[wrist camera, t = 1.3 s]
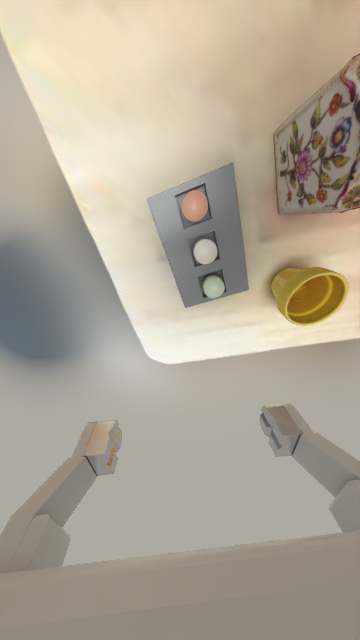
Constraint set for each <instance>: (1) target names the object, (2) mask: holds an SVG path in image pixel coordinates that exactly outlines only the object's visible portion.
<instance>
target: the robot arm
mask: <svg viewBox="0 0 360 640" xmlns="http://www.w3.org/2000/svg"><path fill="white" fill-rule="evenodd" d="M262 412H263V413H262V414H261V415H260V425H261V427H262V430H263V432H264V434H265V435H267V436H268V437H269V444H270V446H271V448H272V450H273V452H274V454H275V456H276V457H277V456H292V457H293V458H294V459H295V460H296V461H297V462H299V464H300V465H301V466H303V467H304V468H305V469H306V470H307V471H308V472H309V473H310V474H311V475H312V476H313V477H314V478H315V479H316V480H317V481H318V482H319V483H320V484H321V485H323V487H325V488H326V489H327V490H328V491H329V492H330V493H331V494H332V495H333V496H334V497H335V499H334V500H333V502H332V503H331V504H330V507H329V510H330V511H331V513H332V515H333V516H334V518H335V520H336V522H337V523H338V525H339V526H340V528H341V530H342V532H343V533H336V534H328V535H320V536H312V537H303V538H294V539H286V540H278V541H269V542H261V543H253V544H244V545H235V546H228V547H219V548H210V549H202V550H194V551H186V552H177V553H168V554H160V555H152V556H143V557H136V558H126V559H118V560H110V561H101V562H93V563H84V564H76V565H68V566H62V564H63V561H64V558H65V555H66V552H67V548H68V546H69V542H70V535H69V534H68V533H67V532H66V531H65V530H64V529H63V528H62V527H63V526H64V524H65V523H66V521H67V520H68V518H69V517H70V516H71V514H72V513H73V511H74V510H75V508H76V507H77V505H78V504H79V503H80V501H81V500H82V498H83V497H84V495H85V494H86V492H87V491H88V489H89V488H90V487H91V485H92V484H93V482H94V481H95V479H96V477H97V476H100V475H107V474H114V471H115V467H116V463H117V459H118V458H117V455H116V453H117V451H118V450H119V449H120V446H121V439H122V432H121V429H120V428H118V425H119V424H118V421H117V420H112V421H99V422H89V423H88V424H87V425H86V426H85V428H84V431H83V433H82V435H81V437H80V440H79V441H78V444H77V446H76V448H75V450H74V453H73V455H72V457H71V458H68V459H67V460H66V461H65V462H64V463H63V464H62V465H61V466H60V467H59V468H58V469H57V470H56V471H55V472H54V473H53V474H52V475H51V476H50V477H49V478H48V479H47V480H46V481H45V482H44V483H43V484H42V486H40V487H39V489H38V490H37V491H36V492H35V493H34V494H33V495H32V496H31V497H30V498H29V499H28V500H27V501H26V502H25V503H24V504H23V505H22V506H21V507H20V508H19V509H18V510H17V511H16V512H15V513H14V514H13V515H12V516H11V518H10V520H9V521H8V523H7V525H6V526H5V528H4V530H3V532H2V533H1V535H0V640H360V461H358V460H357V459H355V458H354V457H352V456H351V455H349V454H348V453H346V452H345V451H343V450H342V449H341V448H339V447H338V446H336V445H335V444H333V443H332V442H330V441H329V440H327V439H325V438H324V437H323V436H321V435H320V434H318V433H314V432H313V431H312V429H311V428H310V427H309V425H308V424H307V423H306V421H305V420H304V419H303V418H302V416H301V415H300V414H299V412H298V411H297V410H296V408H295V407H294V406H293V405H292V404H291V403H285V404H273V405H265V406H263V407H262Z"/></svg>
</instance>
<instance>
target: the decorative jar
mask: <svg viewBox="0 0 360 640" xmlns="http://www.w3.org/2000/svg"><path fill="white" fill-rule="evenodd" d="M274 145H275V161H276V178H277V196H278V208H279V214H319V213H332V212H334V213H335V212H336V213H338V212H339V213H342V212H345V211H347V210H351V209H357V208H360V54H358V55H357V56H354V57H353V58H352V59H351V61H349V62H348V64H347V65H346V66H345V67H344V68H343V69H342V70H341V71H339V72H338V73H337V74H336V75H335V76H334V77H333V78H332V79H331V80H330V81H328V82H327V83H326V84H325V85H324V86H323V87H322V88H321V89H319V90H318V91H317V92H316V93H315V94H314V95H313V96H312V97H311V98H309V99H308V101H306V102H305V103H304V104H303V105H302V106H301V107H300V108H299V109H298V110H297V111H296V112H294V113H293V114H292V115H291V116H290V117H289V118H288V119H287V120H286V121H285V122H284V123H283V124H282V125H281V126H280V127H279V128H278V129H277V130H276V131H275V133H274Z"/></svg>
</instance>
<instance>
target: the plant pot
mask: <svg viewBox="0 0 360 640" xmlns="http://www.w3.org/2000/svg"><path fill="white" fill-rule="evenodd" d="M271 290H272V292H273V294H274V296H275V298H276V300H277V307H278V309H279V311H280V312H281V313H282V314H283V316H284V317H285V318H286V319H287V320H289V321H290V322H291V323H293V324H296V325H302V326H306V325H313V324H316V323H319V322H321V321H324V320H325V319H327V318H329V317H330V316H332V315H333V314H334V313H335V312H336V311H338V310H339V308H340V307H341V306H342V305H343V303H344V302H345V300H346V298H347V295H348V291H349V286H348V282H347V280H346V279H345V277H344V276H342V275H341V274H339V273H337V272H334V271H331V270H328V269H324V268H320V267H313V268H308V269H300V268H287V269H284V270H282V271H281V272H279V273H278V274H277V275H276V276H275V277H274V279H273V281H272V283H271Z"/></svg>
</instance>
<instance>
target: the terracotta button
mask: <svg viewBox="0 0 360 640" xmlns="http://www.w3.org/2000/svg"><path fill="white" fill-rule="evenodd" d="M207 210H208V201H207V198H206V196H205V195H204V194H203V193H202V192H201V191H198V190H193V191H190V192H189V193H187V194H186V196H185V197H184V199H183V202H182V212H183V214H184V216H185V218H186V219H188V220H190V221H193V222H196V221H199V220H201V219H202V218H203V217H204V216H205V215H206V213H207Z"/></svg>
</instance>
